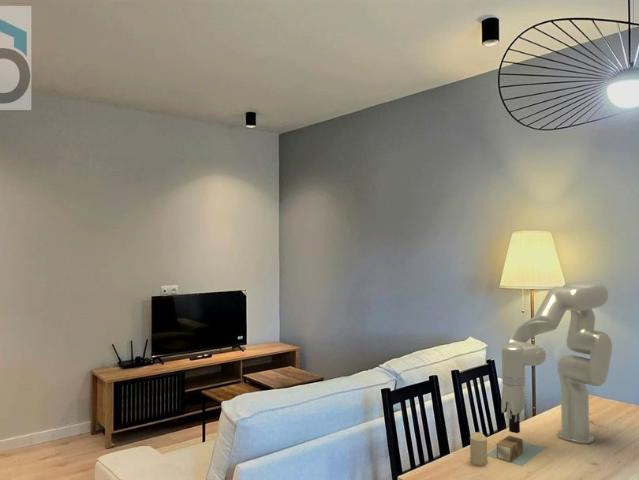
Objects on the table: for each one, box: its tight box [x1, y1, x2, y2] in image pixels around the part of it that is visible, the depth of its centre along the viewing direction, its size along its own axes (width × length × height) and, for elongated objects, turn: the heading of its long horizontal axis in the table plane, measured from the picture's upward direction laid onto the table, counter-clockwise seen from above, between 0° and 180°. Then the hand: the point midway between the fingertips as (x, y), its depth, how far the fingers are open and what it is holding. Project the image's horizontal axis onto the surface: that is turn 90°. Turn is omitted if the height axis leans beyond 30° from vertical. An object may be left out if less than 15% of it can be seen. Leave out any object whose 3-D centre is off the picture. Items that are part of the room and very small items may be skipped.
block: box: [496, 435, 524, 463], centre depth 172 cm, size 5×5×10 cm
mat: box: [487, 441, 546, 467], centre depth 176 cm, size 21×13×1 cm, turn 136°
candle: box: [469, 431, 488, 467], centre depth 168 cm, size 6×6×10 cm
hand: (514, 431), depth 175 cm, fingers closed
